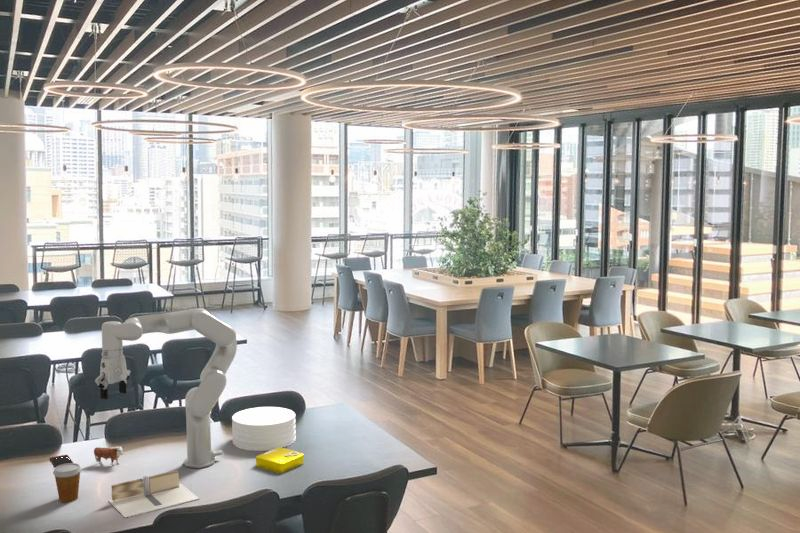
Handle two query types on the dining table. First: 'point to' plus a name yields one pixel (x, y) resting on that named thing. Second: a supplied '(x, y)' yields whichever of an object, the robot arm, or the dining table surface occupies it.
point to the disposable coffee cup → (67, 481)
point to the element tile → (279, 460)
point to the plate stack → (263, 428)
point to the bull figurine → (108, 454)
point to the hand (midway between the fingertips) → (113, 395)
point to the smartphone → (60, 460)
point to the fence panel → (127, 489)
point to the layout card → (155, 495)
